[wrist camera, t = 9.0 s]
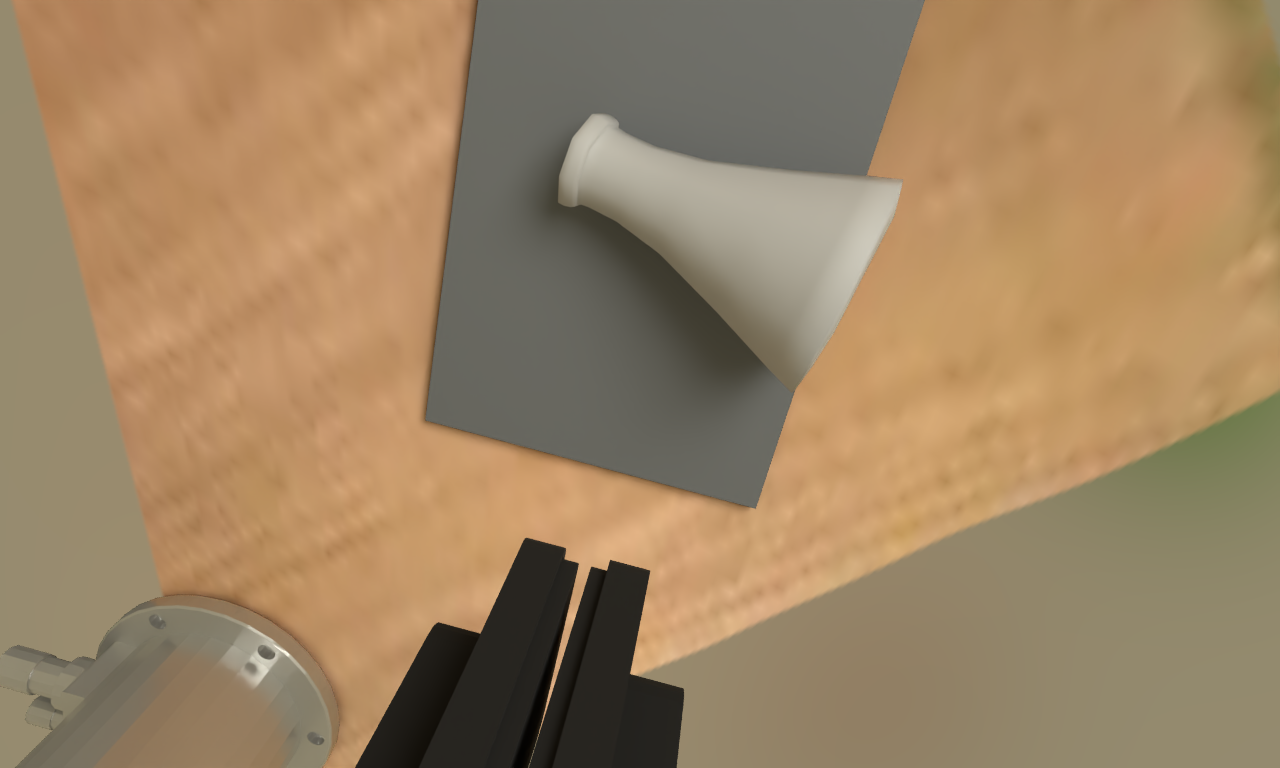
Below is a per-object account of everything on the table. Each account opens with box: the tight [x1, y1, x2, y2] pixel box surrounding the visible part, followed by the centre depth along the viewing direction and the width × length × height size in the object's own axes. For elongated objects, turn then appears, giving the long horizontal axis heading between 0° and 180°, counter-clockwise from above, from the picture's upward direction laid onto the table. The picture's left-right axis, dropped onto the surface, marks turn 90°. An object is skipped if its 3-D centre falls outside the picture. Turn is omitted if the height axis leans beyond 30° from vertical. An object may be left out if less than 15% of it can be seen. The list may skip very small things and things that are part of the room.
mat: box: [425, 0, 925, 509], centre depth 30 cm, size 14×20×1 cm
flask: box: [558, 113, 903, 393], centre depth 27 cm, size 7×7×10 cm
